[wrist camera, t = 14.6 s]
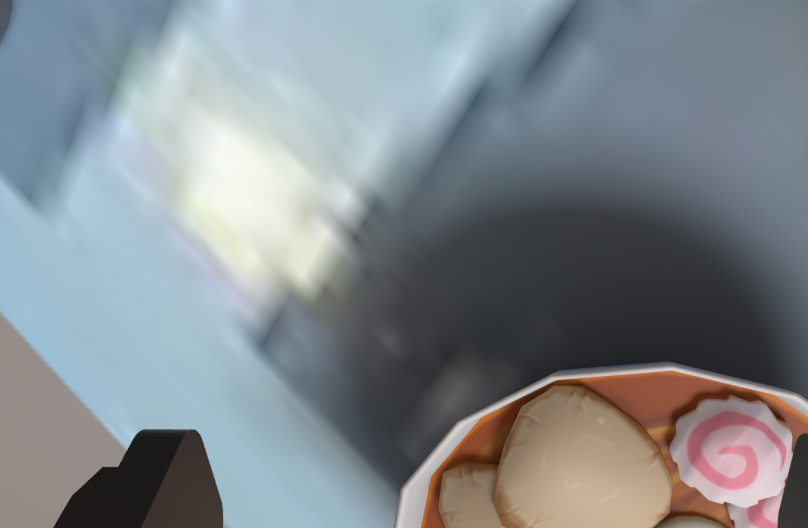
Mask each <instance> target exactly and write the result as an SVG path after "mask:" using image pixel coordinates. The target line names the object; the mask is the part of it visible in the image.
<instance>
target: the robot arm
mask: <svg viewBox="0 0 808 528" xmlns="http://www.w3.org/2000/svg"><path fill="white" fill-rule="evenodd" d="M11 10H12V0H0V42H1V40H2V38H3V35H4V33H5V31H6V29H7V27H8V23H9V19H10V14H11ZM53 528H223V508H222V502H221V498H220V495H219V492H218V489H217V485H216V482H215V479H214V476H213V473H212V469H211V466H210V463H209V460H208V457H207V453H206V450H205V447H204V444H203V441H202V438H201V436H200V434H199V433H198V432H197V431H196V430H173V429H144V430H141V431H140V432H139V433H138V434H137V435H136V436H135V437H134V439H133V441H132V442H131V444H130V446H129V448H128V450H127V452H126V453H125V455H124V457H123V459H122V461H121V463H120V465H119V466H118V467H102V468H101V469H100V470H99V471H98V472H97V473H96V474H95V475H94V476H93V477H92V478H91V479H89V480H88V481H87V482H86V483H85V484H84V485H83V486H82V487H81V488H80V489H79V490H78V491H77V492H76V493H75V494H73V495H72V497H71V498H70V500H69V502H68V503H67V505H66V507H65V508H64V510H63V512H62V514H61V515H60V517H59V519H58V520H57V522H56V524H55V526H54V527H53ZM778 528H808V434H807V433H805V434H801V435H800V436H799V437H798V439H797V441H796V444H795V448H794V452H793V456H792V460H791V464H790V468H789V472H788V476H787V480H786V484H785V488H784V492H783V496H782V500H781V504H780V508H779V513H778Z"/></svg>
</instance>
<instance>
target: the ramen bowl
mask: <svg viewBox="0 0 808 528" xmlns="http://www.w3.org/2000/svg"><path fill="white" fill-rule="evenodd" d="M805 433H807V434H808V400H807V399H806V398H804V397H803V396H801V395H800V394H797V393H794V392H791V391H788V390H785V389H782V388H779V387H775V386H771V385H767V384H763V383H758V382H754V381H750V380H746V379H741V378H737V377H733V376H729V375H725V374H720V373H716V372H712V371H708V370H703V369H699V368H695V367H691V366H686V365H682V364H678V363H674V362H669V361H661V362H650V363H638V364H627V365H615V366H604V367H592V368H581V369H569V370H559V371H557V372H555V373H553V374H551V375H549V376H547V377H545V378H543V379H541V380H539V381H537V382H535V383H533V384H531V385H529V386H527V387H525V388H523V389H521V390H519V391H517V392H515V393H513V394H511V395H509V396H507V397H505V398H503V399H501V400H499V401H497V402H495V403H493V404H491V405H489V406H487V407H485V408H483V409H481V410H479V411H477V412H475V413H473V414H471V415H469V416H467V417H465V418H462V419H460V420H458V421H457V422H456V423H455V424H454V425H453V427H452V428H451V429H450V430H449V431H448V433H447V434H446V435H445V436H444V437H443V439H442V440H441V441H440V442H439V443H438V445H437V446H436V447H435V448H434V449H433V451H432V452H431V453H430V454H429V455H428V457H427V458H426V459H425V460H424V461H423V463H422V464H421V465H420V466H419V467H418V469H417V470H416V471H415V472H414V473H413V475H412V476H411V477H410V478H409V479H408V481H407V482H406V483H405V484H404V485H403V487H402V488H401V490H400V495H399V501H398V506H397V512H396V517H395V523H394V528H778V513H779V508H780V504H781V500H782V496H783V492H784V488H785V484H786V480H787V476H788V472H789V468H790V464H791V460H792V456H793V452H794V448H795V444H796V441H797V439H798V437H799V436H800V435H801V434H805Z"/></svg>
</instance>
